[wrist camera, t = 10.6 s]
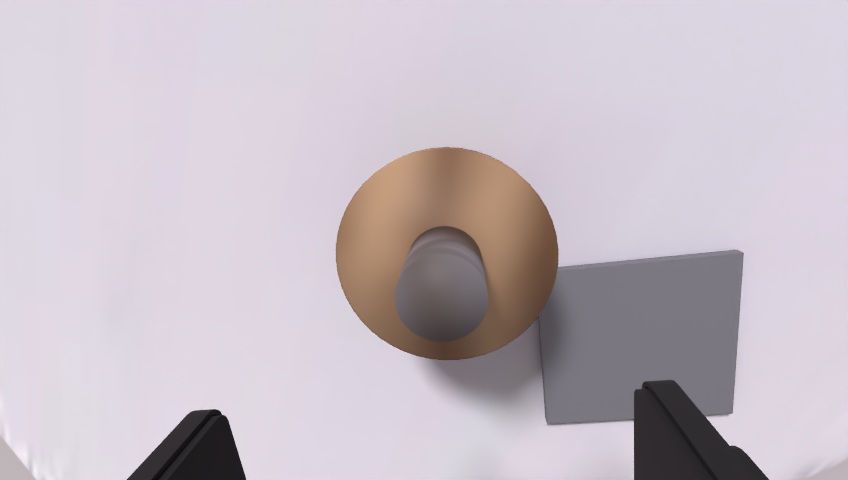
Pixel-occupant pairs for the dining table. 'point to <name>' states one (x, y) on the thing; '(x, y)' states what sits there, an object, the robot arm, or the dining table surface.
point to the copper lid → (447, 254)
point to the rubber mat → (640, 334)
